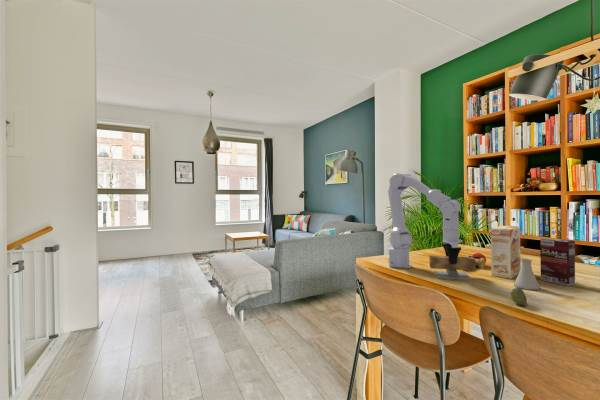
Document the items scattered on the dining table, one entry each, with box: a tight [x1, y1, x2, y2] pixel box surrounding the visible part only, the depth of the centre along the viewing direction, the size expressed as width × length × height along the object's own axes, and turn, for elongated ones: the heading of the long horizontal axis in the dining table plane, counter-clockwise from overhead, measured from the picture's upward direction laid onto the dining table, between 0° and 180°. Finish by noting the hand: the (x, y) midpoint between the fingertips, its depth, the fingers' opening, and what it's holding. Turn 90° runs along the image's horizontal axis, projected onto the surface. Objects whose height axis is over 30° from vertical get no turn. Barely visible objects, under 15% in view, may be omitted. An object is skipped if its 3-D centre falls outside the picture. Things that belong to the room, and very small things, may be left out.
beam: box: [428, 255, 476, 271], centre depth 113 cm, size 16×4×4 cm, turn 72°
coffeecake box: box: [490, 225, 521, 280], centre depth 115 cm, size 15×7×20 cm, turn 129°
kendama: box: [462, 252, 487, 272], centre depth 126 cm, size 8×6×18 cm
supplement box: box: [539, 237, 576, 287], centre depth 102 cm, size 9×5×16 cm, turn 23°
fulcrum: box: [433, 269, 473, 281], centre depth 113 cm, size 12×9×3 cm
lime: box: [510, 287, 528, 307], centre depth 82 cm, size 4×5×5 cm
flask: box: [513, 257, 541, 291], centre depth 98 cm, size 7×7×10 cm
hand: (451, 262), depth 113 cm, fingers open, 5 cm apart
